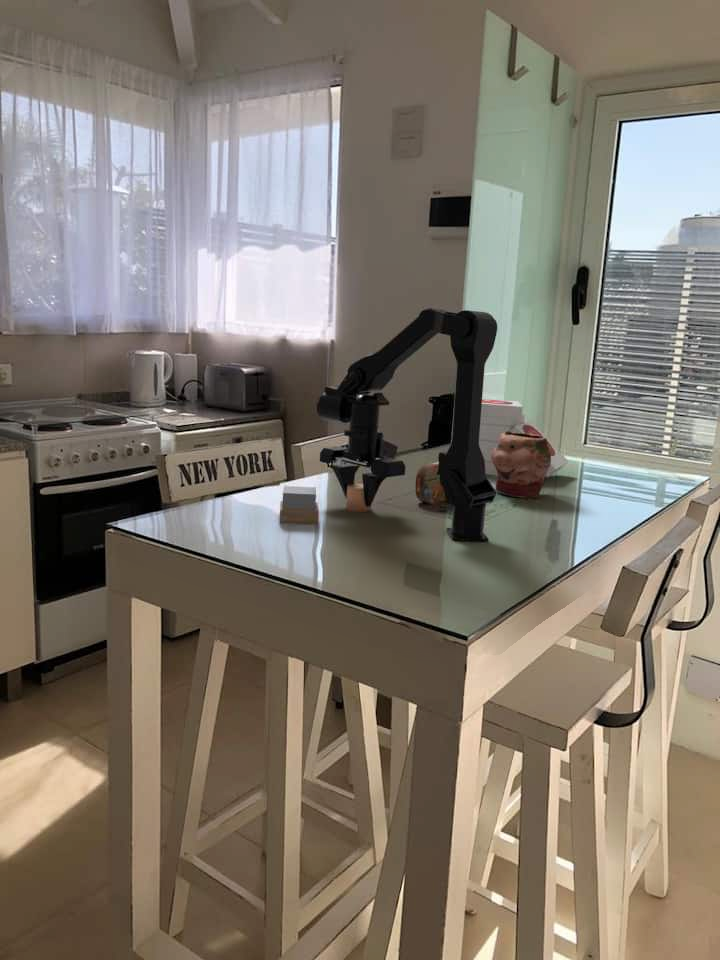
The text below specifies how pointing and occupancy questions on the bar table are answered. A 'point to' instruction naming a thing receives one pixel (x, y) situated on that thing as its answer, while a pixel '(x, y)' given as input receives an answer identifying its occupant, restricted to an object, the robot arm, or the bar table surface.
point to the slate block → (299, 498)
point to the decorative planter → (521, 464)
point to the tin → (429, 484)
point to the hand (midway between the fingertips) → (358, 503)
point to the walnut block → (299, 515)
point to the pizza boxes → (509, 418)
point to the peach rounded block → (356, 498)
